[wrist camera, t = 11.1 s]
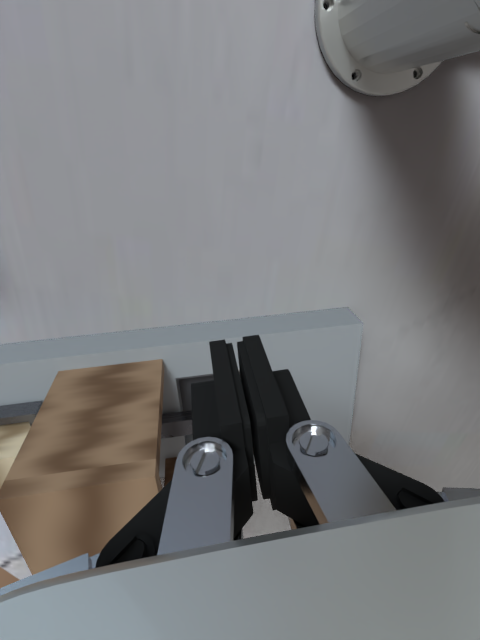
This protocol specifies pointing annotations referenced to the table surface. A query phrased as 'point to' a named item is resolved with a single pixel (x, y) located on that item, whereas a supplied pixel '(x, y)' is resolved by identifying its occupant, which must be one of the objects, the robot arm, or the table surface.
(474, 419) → the table surface
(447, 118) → the table surface
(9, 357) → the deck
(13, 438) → the block
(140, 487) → the tunnel
